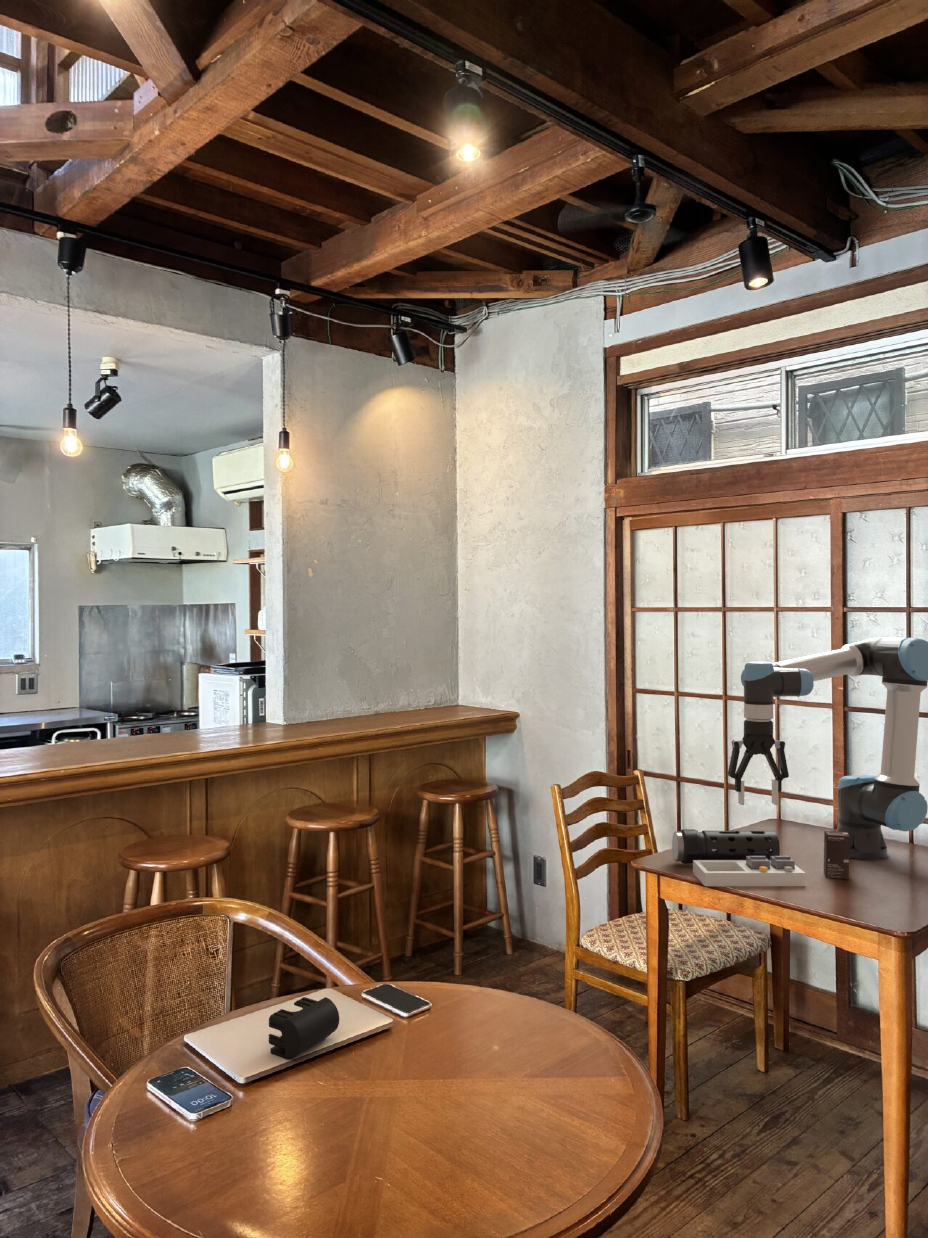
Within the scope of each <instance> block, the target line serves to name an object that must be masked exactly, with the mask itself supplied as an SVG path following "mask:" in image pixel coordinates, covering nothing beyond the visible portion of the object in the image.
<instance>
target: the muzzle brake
mask: <svg viewBox="0 0 928 1238" xmlns="http://www.w3.org/2000/svg"><path fill="white" fill-rule="evenodd" d="M671 843H672V844H671V845H672V846H671V847H672V855H673V859H674V861H675V862H680V863H681V864H683V865H693V860H746V856H766V858H767V859H768V860H770V856H781V849H780V848H781V847H780V846H781V845H780V841H779V837H778V834H777V833H776V832H775V830H702V831H701V832H699V830H697V829H693V828H690V829H689V828H688V829H687V828H686V829H685V828H684V829H683V828H682V829H680V830H679V831H674V832H673V834H672V842H671Z"/></svg>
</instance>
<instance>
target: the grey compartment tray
mask: <svg viewBox="0 0 928 1238" xmlns="http://www.w3.org/2000/svg"><path fill="white" fill-rule="evenodd" d="M769 861H770V860H769ZM692 873H693V875H694V876H695V877H696V879H698V881H700V882H701V884H702V885H703V886H705V887H806V882H807V880H806V872H805V871H804V870H803V869H801V868H799V866H797V865H796V864H795V869H792V867H790V866H785V867H784V869H775V868H774V867H773V866H771V865H770V869H767V867H765V866H760V867H759V869H750V868H749V867H748V866H747V865H746V860H693V864H692Z"/></svg>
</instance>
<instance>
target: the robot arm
mask: <svg viewBox="0 0 928 1238" xmlns="http://www.w3.org/2000/svg"><path fill="white" fill-rule="evenodd" d="M846 675H848V676H850V677H857V676H879V677H881V684H882V685H883V686H884V688H885V689H886V700H885V701H886V702H885V714H884V724H883V725H884V726H883V727H884V728H883V736H882V737H883V739H882V752H881V763H880V764H881V765H880V772H879V774H877V775H869V774H868V775H867V774H865V775H863V774H861V775H860V774H859V775H845V776H842V777H840V778H839V780H838V788H837V796H838V797H837V803H838V805H837V807H838V809H837V810H838V812H837V813H838V814H837V815H838V822H837V823H838V824H837V827H836V831H837V832H847V833H848V834H849V836H850V850H849V859H850V858H851V859H858V860H881V859H885V858H887V857H888V846H887V843H886V840H885V838H884V837H885V836H884V834H883V832H882V831H883V830H882V827H886V828H888V829H891V830H893V831H900V832H911V831H914V830H915V829H917V828H919V826H920V825H922V824H923V823H924V821H925V819H926V817H927V814H928V802H927V800H926V798H925V796H924V795H923V794H922V793H921V792H920V787H921V786H920V782H919V781H918V780H917V779H916V778H915V770H916V760H917V757H916V756H917V746H918V745H917V744H918V731H919V719H920V718H919V717H920V706H921V693H922V692H923V691H924V690H926V689H927V688H928V641H927V640H926V639H923V638H917V637H913V636H912V637H900V636H899V637H895V636H894V637H893V636H878V637H872V638H868V639H864V640H861V641H857V642H853V643H848V644H847V643H846V644H844V645H843V646H842V647H841V648H840V649H834V650H831V651H826V652H821V653H815V654H812V655H806V656H801V657H798V658H792V659H787V660H783V661H782V660H781V661H776V662H770V661H748V662H746V663H745V664H744V669H742V671H741V674H740V682H741V684H742V685H741V686H743V718H744V719H745V720H744V721H743V737H742V739H737V740H735V739H733V740H732V741H731V746H732V750H731V756H730V761H729V766H728V770H727V771H728V772H727V776H729V778H731V779H734V790H735V792H737V793H738V799H737V801H738V804H739V805H741V806H745V780H744V779H743V777H744V774H745V772H746V771H747V768H748V766H749V764H750V762H751V759H752V758H753V756H757V755H763V756H764V757H765V758H766V761H767V763H768V766H769V767H770V770H771V772H772V774H773V777H774V778H772V779H771V804H773V805H774V806H779V793H781V792H782V785H783V784H782V781H784V780H785V779H788V778H789V777H790V775H789V769H788V764H787V758H786V752H785V747H786V742H785V741H784V740H781V739H779V740H776V739H775V737H774V722H773V719H774V698H777V697H779V698H780V697H783V698H784V697H798V698H799V697H803V696H804V697H805V696H808V695H810V694H811V693H812V691H813V690H814V686H815V685H814V682H817V681H822V680H827V679H831V678H835V677H841V676H846ZM742 746H744V747H745V750H744V753H743V756H742V759H741V761H740V762H739V758H740V757H739V756H740V751H741V748H742ZM773 746H775V747H774V748H776V753H777V754H776V755H777V759H778V763H779V764H778V765H779V767H778V766H777V763H776V761H775V759H774V756H773V753H772V751H771V749H772V748H773ZM738 762H739V764H738ZM779 769H780V770H779Z"/></svg>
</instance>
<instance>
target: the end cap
mask: <svg viewBox="0 0 928 1238" xmlns="http://www.w3.org/2000/svg"><path fill="white" fill-rule="evenodd" d="M293 1005H294V1006H295V1007H299V1008H301V1009H300V1010H297V1011H296V1010H295V1011H289V1010H286V1009H283V1008H281V1009H279V1010H278V1011H276V1012H274V1013H272V1014H271V1015H270V1016H269V1017H268V1027H269V1028H271V1029H274V1030H277V1031H280V1034H281V1035H280V1036H278V1035H275V1034H272V1033H270V1034H268V1044H269V1045H271V1046H272V1047H271V1048H269V1049H270V1051H269V1052H270V1054H271V1055H273V1056H277V1057H279V1058H282V1059H285V1060H292V1059H294V1058H295V1057H297V1056H299V1055H300V1054H302V1053H304V1052H305V1051H307V1050H308V1049H310V1048H311V1047H314V1046H315V1045H317V1044H318V1043H320V1042H321V1041H323V1040H325V1039H326V1038H329V1037H330V1036H331V1034H333V1033H334V1032H336V1030H337V1029H338V1027H339V1025H340V1013H339V1010H338V1007H337V1005H336V1004H335V1002H333V1001H332V999H330V998H328V997H323V998H321V999H319V1000H315V999H312V998H309V997H307V996H306V997H305V996H304V997H302V998H300V999H298V1000H296V1001H294V1002H293Z"/></svg>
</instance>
